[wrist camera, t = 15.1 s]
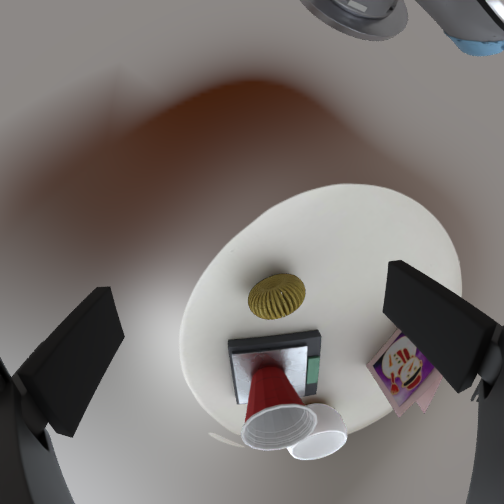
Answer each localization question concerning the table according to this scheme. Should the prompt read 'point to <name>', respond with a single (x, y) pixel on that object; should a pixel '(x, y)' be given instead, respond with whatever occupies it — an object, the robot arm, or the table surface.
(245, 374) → the scale
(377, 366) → the greeting card
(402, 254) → the table surface
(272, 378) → the plastic cup
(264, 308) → the sculpture
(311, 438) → the cup
